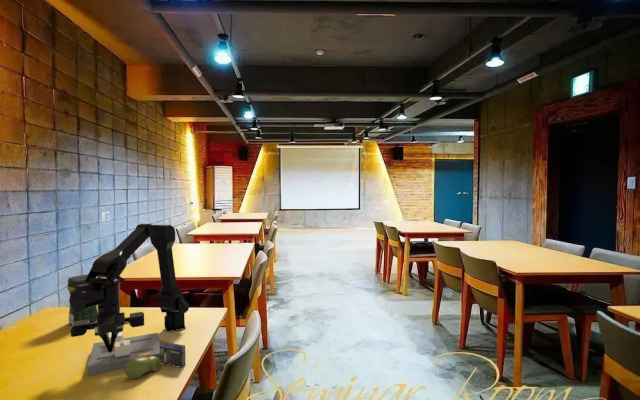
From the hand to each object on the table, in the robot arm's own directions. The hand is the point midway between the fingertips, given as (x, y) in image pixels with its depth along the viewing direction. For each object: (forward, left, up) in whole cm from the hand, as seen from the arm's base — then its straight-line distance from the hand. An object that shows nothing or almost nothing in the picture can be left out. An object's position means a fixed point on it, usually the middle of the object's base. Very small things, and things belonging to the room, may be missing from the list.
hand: (110, 351), depth 110 cm
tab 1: (-1, -9, -1) cm, 9 cm away
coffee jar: (+12, -46, -4) cm, 48 cm away
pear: (-9, +10, -4) cm, 14 cm away
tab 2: (-3, 0, -1) cm, 3 cm away
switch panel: (-4, -4, -4) cm, 7 cm away
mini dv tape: (-17, +8, -4) cm, 19 cm away
